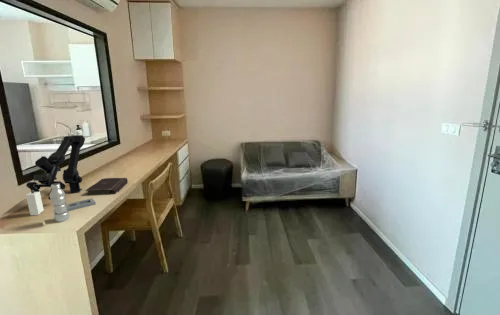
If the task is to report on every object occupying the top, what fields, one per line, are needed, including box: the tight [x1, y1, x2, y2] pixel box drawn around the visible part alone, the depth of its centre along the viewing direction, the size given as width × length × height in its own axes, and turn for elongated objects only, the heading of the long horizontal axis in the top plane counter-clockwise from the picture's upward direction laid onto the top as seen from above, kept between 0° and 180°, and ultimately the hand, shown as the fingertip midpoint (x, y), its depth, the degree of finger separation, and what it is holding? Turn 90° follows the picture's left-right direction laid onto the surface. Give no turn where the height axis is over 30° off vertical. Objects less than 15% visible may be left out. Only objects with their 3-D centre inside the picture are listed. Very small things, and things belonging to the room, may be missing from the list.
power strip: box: [66, 198, 97, 212], centre depth 156 cm, size 16×8×3 cm, turn 131°
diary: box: [84, 177, 129, 196], centre depth 185 cm, size 19×25×5 cm
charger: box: [25, 190, 45, 216], centre depth 148 cm, size 4×4×14 cm
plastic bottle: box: [49, 183, 70, 223], centre depth 138 cm, size 6×7×20 cm
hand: (40, 199), depth 153 cm, fingers open, 9 cm apart
